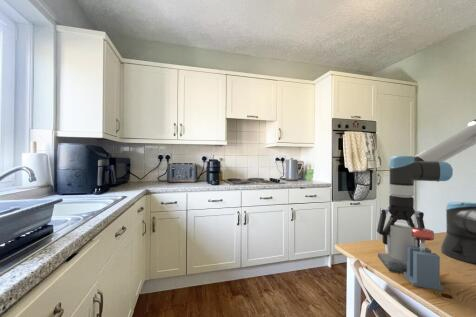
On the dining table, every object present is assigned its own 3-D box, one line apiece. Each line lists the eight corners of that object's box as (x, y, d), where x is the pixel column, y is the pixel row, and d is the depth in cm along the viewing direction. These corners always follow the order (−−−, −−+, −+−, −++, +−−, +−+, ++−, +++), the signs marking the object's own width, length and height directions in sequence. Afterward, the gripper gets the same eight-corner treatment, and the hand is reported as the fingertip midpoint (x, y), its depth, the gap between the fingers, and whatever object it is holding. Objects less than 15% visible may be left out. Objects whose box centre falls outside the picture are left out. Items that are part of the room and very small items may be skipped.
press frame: (430, 278, 73) (430, 248, 73) (443, 290, 66) (443, 256, 66) (403, 274, 76) (403, 245, 76) (413, 285, 69) (413, 253, 69)
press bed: (411, 260, 86) (411, 256, 86) (428, 276, 75) (428, 271, 75) (377, 256, 90) (377, 252, 90) (388, 270, 78) (388, 266, 78)
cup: (419, 262, 77) (419, 229, 77) (394, 259, 79) (394, 227, 79) (406, 252, 85) (406, 222, 85) (383, 250, 87) (384, 221, 87)
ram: (427, 258, 73) (427, 228, 73) (437, 266, 68) (437, 233, 68) (408, 256, 75) (408, 226, 75) (416, 263, 69) (416, 231, 69)
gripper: (428, 195, 83) (428, 253, 83) (367, 192, 89) (367, 246, 89) (440, 199, 75) (440, 262, 75) (373, 195, 82) (372, 254, 82)
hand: (400, 254), depth 82 cm, fingers closed on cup, 8 cm apart
